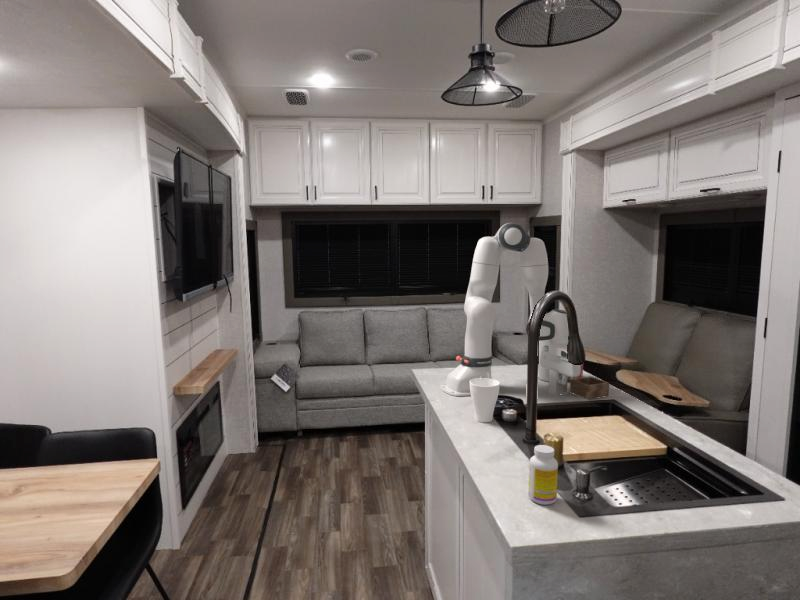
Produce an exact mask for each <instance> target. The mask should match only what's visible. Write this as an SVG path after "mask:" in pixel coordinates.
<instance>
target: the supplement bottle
mask: <svg viewBox="0 0 800 600" xmlns="http://www.w3.org/2000/svg"><path fill="white" fill-rule="evenodd" d="M533 453H534V455H533V456H531V457H530V458H529V469H528V470H529V474H528V497H529V499H530V500H531V501H532V502H534V503H536V504H539V505H544V506H546V505H547V506H548V505H552V504H555V503H556V501H557V496H558V472H559V471H558V470H559V463H558V461H557V459H556V458H555V457H554V456H555V449H554V447H552V446H550V445H546V444H538V445H535V446H534V449H533Z"/></svg>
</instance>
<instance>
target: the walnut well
mask: <svg viewBox="0 0 800 600" xmlns="http://www.w3.org/2000/svg"><path fill="white" fill-rule="evenodd" d="M569 382H570V383H569V384H570V385H569V393H570V392H571V394H573V393H574V394H573V395H575V394H576V396H578V395H579V396H578V397H580V396H581V398H583V397H584V398H583V399H585V398H586V399H587V400H593V398H594V399H599V398H598V397H600V398H604V397H603V396H606V397H609V396H610V395H609V393H610V382H608V381H605V380H602V379H599V378H596V377H593V376H586V377H582V378H577V379H571V380H570V381H569Z"/></svg>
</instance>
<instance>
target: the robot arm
mask: <svg viewBox="0 0 800 600" xmlns="http://www.w3.org/2000/svg"><path fill="white" fill-rule="evenodd" d="M505 251H513V252H516V253H517V255H518V258H519V270H520V277H521V280H522V283H523V285H524V286H525V288H526V290H527V291H528V296H529V306H530V307H529V308H530V314H529V316H528V319H527V323H526V328H525V332H526V334H527V336H528V328H529V323H530V319H531V316H532V313H533V310H534V307H535V305H536V304H537V302H538V301H539V300H540V299H541V298H542V297H543V296H544V295H546V294H545V292H546V291H545V290H546V286H547V282H548V278H549V261H548V252H547V248H546V245H545V242H544V241H543V240H542V239H540V238H538V237H531V236H530V235H529V234H528V233H527V231H526V229H525V228H524V227H523V226H522V225H521V224H519V223H516V222H508V223H504V224H503V225H502V226H500V228H499V229H498V230H497V231H496V233H495V234H494V236H483V237H481V238H479V239H478V241H477V244H476V247H475V249H474V254H473V258H472V264H471V271H470V277H469V282H468V286H467V291H466V295H465V301H464V305H463V311H464V314H465V315H466V328H465V329H466V330H465V335H464V354H463V356H460V355H457V356H456V358H455V360H456V361H458V362H460V364H458V366H456V368H454V369H453V370H452V371H451V372H450V373H448V375H447V378H446V382H445V384H441V385H440V390H441V391H442V392H444V393H446V394H448V395H451V396H453V397H467V396H469V397H471V393H470V383H469V381H470V380H472V379H476V378H489V379H493V377H492V365H493V356H492V339H493V338H492V337H493V331H494V324H495V323H494V322H495V316H496V310H495V306H494V305H493V303H492V301H493V295H494V292H495V289H496V287H497V283H498V277H499V271H500V265H501V258H502V254H503V253H504V252H505ZM565 311H566V310H563V309H559V308H556V309H555V308H554V309H552V310H551V311H549V312H546V314H545V316H544V318H543V321H542V324H541V329H540V338H539V341H542V340H549V346H547V345H545V346H544V347H543V348H542V352H541V356H540V365H541V366H542V367H544V368H547V369H549V372H550V369H554V370H557V371H559V373H561V374H562V376H563V378H562V380H560V384H563V385H565V384H566V380H567V378H568V377H569V376H570V377H578V376H579V375H580V371H581V365H573V364H571V363H569V362H568V359H567V343H568V326H567V318H566V312H565Z"/></svg>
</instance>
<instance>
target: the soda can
mask: <svg viewBox="0 0 800 600" xmlns="http://www.w3.org/2000/svg"><path fill="white" fill-rule="evenodd" d="M583 373H584V363H583V364H581V371H580V375H579V376H578V377H570V376H569V377H568V382H570V380H571V379H577V378H584V377H583V376H584V374H583Z"/></svg>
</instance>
